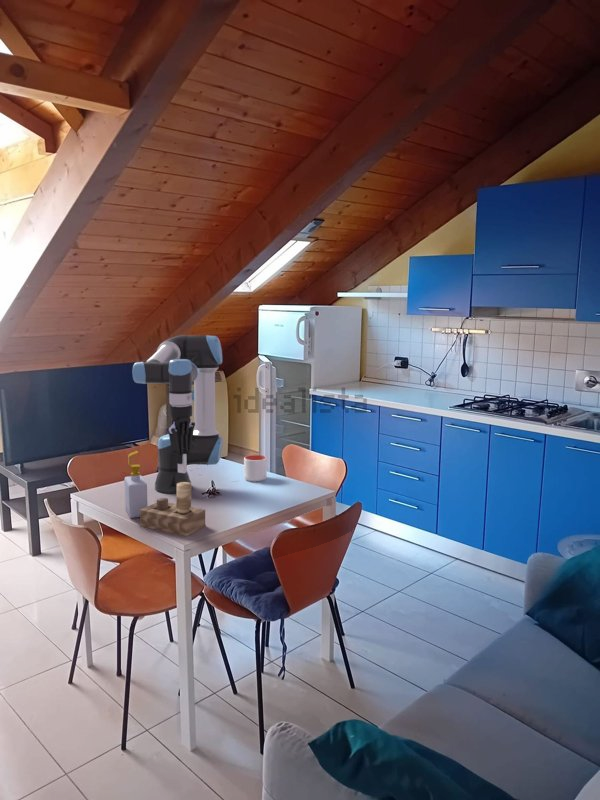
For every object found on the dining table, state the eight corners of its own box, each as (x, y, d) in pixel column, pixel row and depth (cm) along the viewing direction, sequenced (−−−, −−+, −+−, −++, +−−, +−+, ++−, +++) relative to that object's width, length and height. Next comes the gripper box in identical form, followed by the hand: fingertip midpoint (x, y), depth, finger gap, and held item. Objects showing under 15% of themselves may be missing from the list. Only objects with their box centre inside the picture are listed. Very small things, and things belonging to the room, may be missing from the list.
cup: (265, 482, 273) (265, 460, 271) (243, 482, 273) (242, 460, 271) (267, 476, 283) (267, 455, 281) (245, 476, 283) (245, 454, 281)
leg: (184, 529, 214) (185, 487, 211) (173, 525, 216) (173, 484, 213) (193, 524, 218) (194, 483, 215) (182, 521, 220) (182, 481, 218)
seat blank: (140, 526, 219) (139, 501, 217) (160, 516, 229) (160, 493, 227) (186, 536, 210) (186, 510, 209) (205, 525, 220) (205, 501, 218)
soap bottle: (148, 516, 229) (146, 454, 225) (129, 518, 226) (127, 456, 222) (142, 506, 240) (140, 447, 236) (125, 508, 237) (123, 448, 233)
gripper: (177, 408, 203) (179, 478, 207) (201, 403, 214) (202, 469, 218) (159, 406, 206) (161, 475, 210) (183, 401, 218) (184, 466, 222)
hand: (182, 472), depth 214 cm, fingers closed
